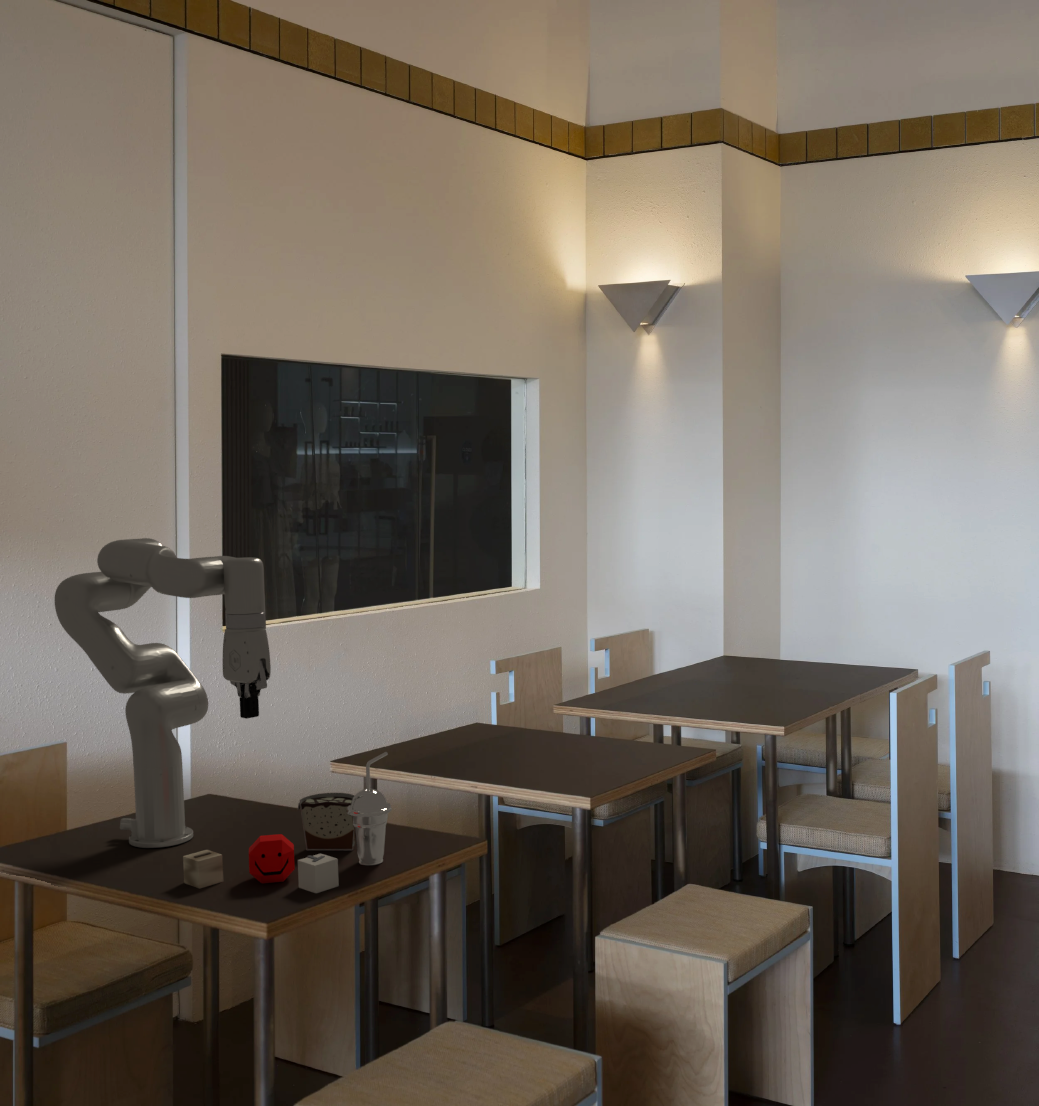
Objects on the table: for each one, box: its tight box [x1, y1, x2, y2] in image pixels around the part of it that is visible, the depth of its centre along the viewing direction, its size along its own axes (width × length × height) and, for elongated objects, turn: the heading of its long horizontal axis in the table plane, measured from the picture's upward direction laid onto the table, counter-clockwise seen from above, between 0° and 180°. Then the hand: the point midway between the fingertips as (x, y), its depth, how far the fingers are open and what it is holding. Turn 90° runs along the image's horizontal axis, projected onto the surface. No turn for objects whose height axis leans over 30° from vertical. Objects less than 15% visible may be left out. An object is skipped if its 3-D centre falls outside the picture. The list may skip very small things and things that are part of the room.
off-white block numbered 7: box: [297, 853, 340, 894], centre depth 216 cm, size 5×5×5 cm
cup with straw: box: [346, 751, 393, 866], centre depth 229 cm, size 8×9×20 cm
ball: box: [248, 833, 296, 884], centre depth 221 cm, size 8×8×8 cm
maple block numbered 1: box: [182, 849, 224, 889], centre depth 221 cm, size 5×5×5 cm
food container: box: [297, 792, 356, 851], centre depth 241 cm, size 12×6×10 cm, turn 84°
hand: (249, 716), depth 234 cm, fingers closed
